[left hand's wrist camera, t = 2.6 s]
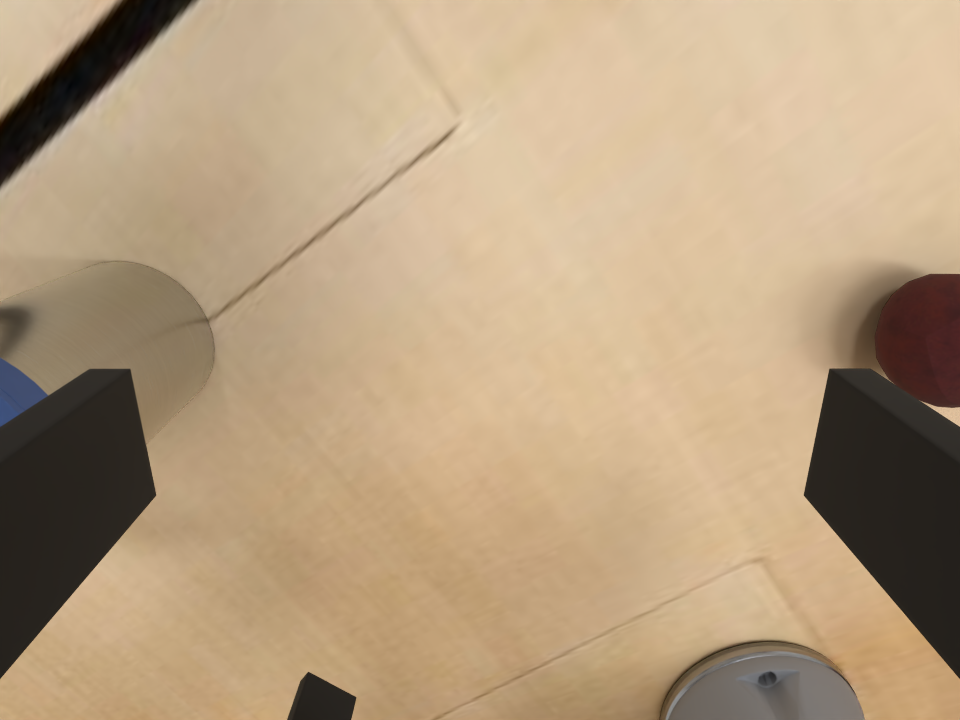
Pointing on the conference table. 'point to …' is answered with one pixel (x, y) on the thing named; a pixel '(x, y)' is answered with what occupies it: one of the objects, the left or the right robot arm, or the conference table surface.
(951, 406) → the dark red ball
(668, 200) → the conference table surface
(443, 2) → the conference table surface
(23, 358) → the jar
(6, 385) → the lid
